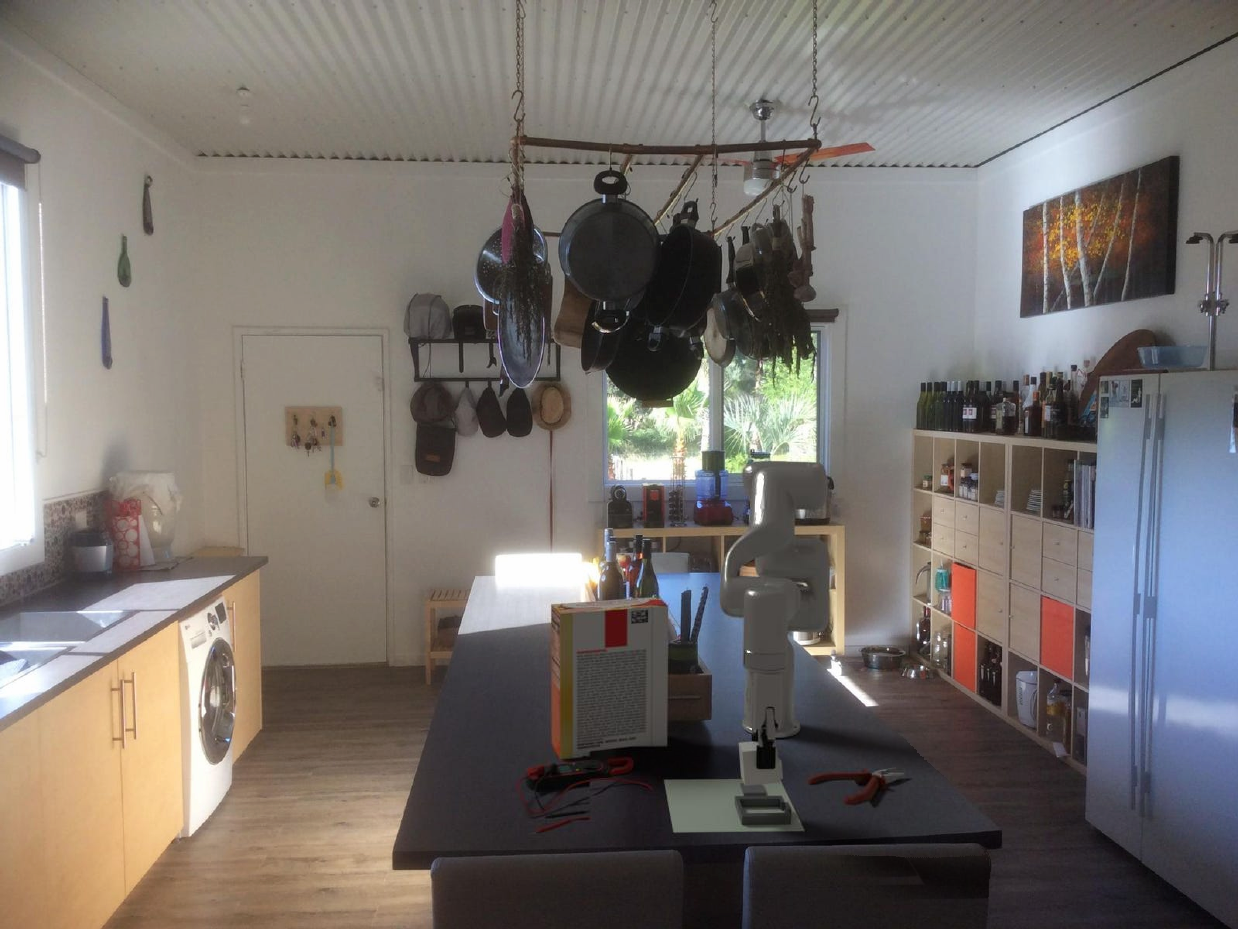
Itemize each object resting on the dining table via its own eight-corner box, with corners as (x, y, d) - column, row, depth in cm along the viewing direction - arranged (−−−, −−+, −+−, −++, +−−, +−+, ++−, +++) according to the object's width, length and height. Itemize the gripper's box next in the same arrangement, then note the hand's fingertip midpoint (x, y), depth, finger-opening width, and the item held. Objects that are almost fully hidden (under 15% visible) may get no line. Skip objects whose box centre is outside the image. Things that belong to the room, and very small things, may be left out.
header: (734, 804, 158) (734, 796, 158) (784, 803, 158) (785, 795, 158) (741, 825, 151) (741, 816, 150) (794, 824, 151) (794, 816, 151)
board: (663, 785, 168) (663, 776, 168) (779, 783, 169) (779, 775, 169) (673, 838, 148) (673, 828, 148) (804, 836, 149) (804, 827, 149)
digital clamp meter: (506, 757, 171) (630, 743, 178) (506, 780, 171) (630, 765, 178) (528, 812, 149) (669, 793, 156) (529, 838, 149) (669, 818, 156)
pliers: (925, 788, 168) (926, 775, 168) (848, 814, 158) (849, 800, 158) (879, 766, 178) (879, 754, 178) (804, 789, 168) (804, 776, 167)
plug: (741, 776, 156) (738, 742, 155) (779, 772, 156) (777, 739, 155) (744, 786, 152) (742, 752, 151) (784, 782, 152) (782, 748, 151)
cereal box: (654, 732, 194) (655, 597, 191) (667, 746, 186) (668, 605, 184) (551, 744, 187) (551, 604, 185) (560, 759, 179) (560, 613, 177)
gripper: (735, 645, 160) (733, 744, 162) (751, 674, 144) (749, 784, 145) (776, 645, 161) (774, 744, 162) (797, 674, 144) (795, 783, 145)
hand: (763, 761), depth 154 cm, fingers closed on plug, 3 cm apart
